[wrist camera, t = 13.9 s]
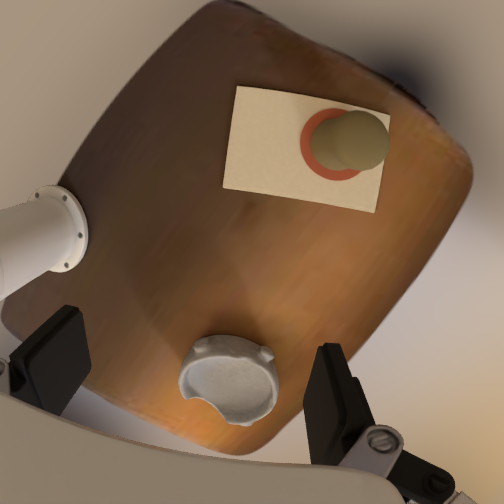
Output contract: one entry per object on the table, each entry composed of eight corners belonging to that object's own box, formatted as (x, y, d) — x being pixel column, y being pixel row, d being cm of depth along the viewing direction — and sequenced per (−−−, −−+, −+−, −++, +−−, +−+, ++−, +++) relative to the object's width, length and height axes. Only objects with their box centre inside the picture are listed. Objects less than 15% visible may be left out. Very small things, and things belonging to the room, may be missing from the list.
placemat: (223, 187, 35) (222, 187, 35) (237, 86, 31) (236, 85, 31) (373, 212, 35) (374, 213, 34) (389, 115, 31) (390, 115, 31)
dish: (259, 411, 45) (258, 434, 40) (176, 386, 44) (168, 407, 39) (297, 345, 41) (299, 367, 36) (199, 313, 40) (190, 332, 35)
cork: (326, 108, 31) (350, 88, 21) (370, 137, 32) (411, 130, 21) (300, 153, 33) (314, 150, 22) (345, 180, 33) (377, 191, 23)
